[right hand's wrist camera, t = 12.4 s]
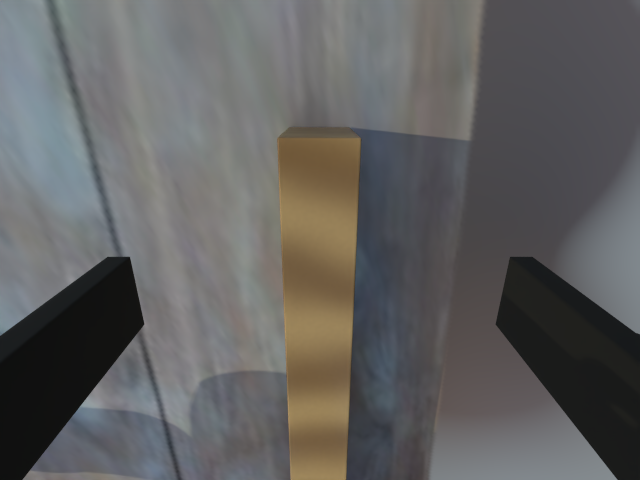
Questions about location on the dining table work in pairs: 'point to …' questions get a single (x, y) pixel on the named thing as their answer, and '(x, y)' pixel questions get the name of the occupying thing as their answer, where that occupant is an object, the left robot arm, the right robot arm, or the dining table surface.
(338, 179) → the bar
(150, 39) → the dining table surface
